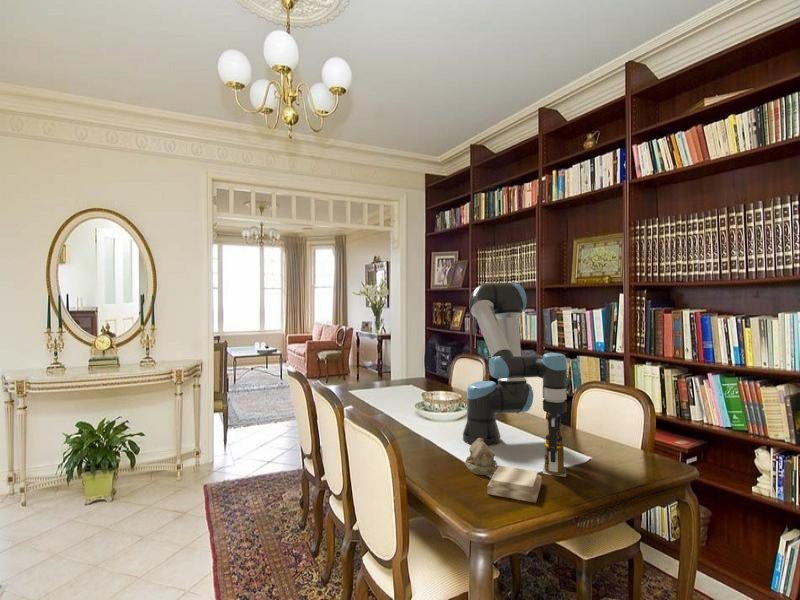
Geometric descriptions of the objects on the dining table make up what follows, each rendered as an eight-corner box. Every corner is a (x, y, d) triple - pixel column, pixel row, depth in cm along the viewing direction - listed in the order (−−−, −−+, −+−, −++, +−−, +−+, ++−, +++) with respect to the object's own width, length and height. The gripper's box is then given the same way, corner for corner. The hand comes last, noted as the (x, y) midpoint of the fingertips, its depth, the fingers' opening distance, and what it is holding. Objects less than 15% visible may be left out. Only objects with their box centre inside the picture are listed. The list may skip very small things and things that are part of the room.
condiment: (542, 474, 145) (542, 438, 145) (544, 464, 153) (544, 430, 153) (566, 477, 142) (566, 440, 142) (566, 467, 150) (566, 432, 150)
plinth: (487, 493, 131) (487, 480, 131) (496, 475, 143) (496, 463, 143) (536, 502, 125) (536, 488, 125) (541, 483, 138) (541, 470, 138)
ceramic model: (462, 459, 158) (462, 432, 158) (493, 459, 158) (493, 431, 158) (469, 475, 144) (469, 445, 144) (503, 475, 144) (503, 445, 144)
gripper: (564, 409, 135) (564, 480, 135) (568, 393, 156) (568, 454, 157) (539, 406, 138) (539, 476, 138) (546, 391, 159) (546, 451, 160)
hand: (554, 464), depth 147 cm, fingers open, 11 cm apart
